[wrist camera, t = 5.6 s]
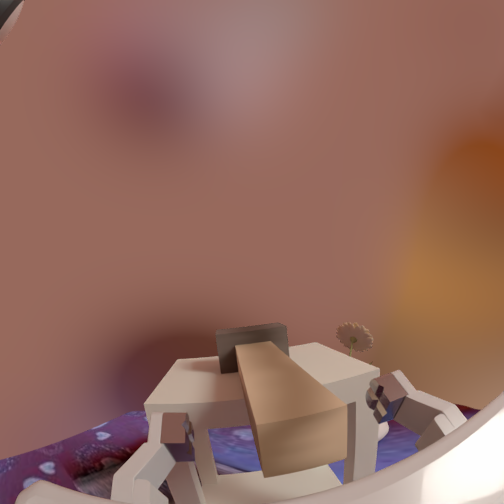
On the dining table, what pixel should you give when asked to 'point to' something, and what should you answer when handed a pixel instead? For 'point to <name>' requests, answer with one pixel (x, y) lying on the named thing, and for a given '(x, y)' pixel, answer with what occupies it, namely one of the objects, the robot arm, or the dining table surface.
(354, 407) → the shelf stand
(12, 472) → the dining table surface
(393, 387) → the robot arm
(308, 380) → the mallet
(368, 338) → the flower in vase
